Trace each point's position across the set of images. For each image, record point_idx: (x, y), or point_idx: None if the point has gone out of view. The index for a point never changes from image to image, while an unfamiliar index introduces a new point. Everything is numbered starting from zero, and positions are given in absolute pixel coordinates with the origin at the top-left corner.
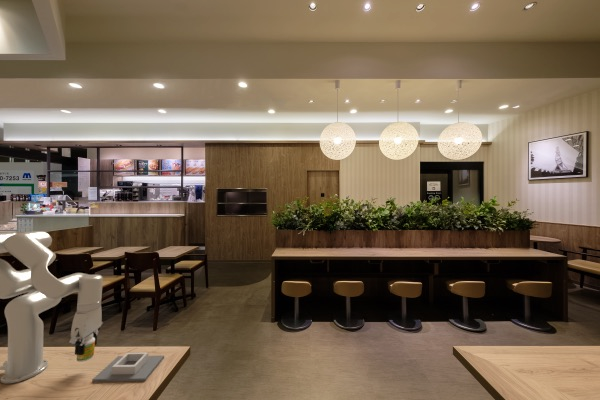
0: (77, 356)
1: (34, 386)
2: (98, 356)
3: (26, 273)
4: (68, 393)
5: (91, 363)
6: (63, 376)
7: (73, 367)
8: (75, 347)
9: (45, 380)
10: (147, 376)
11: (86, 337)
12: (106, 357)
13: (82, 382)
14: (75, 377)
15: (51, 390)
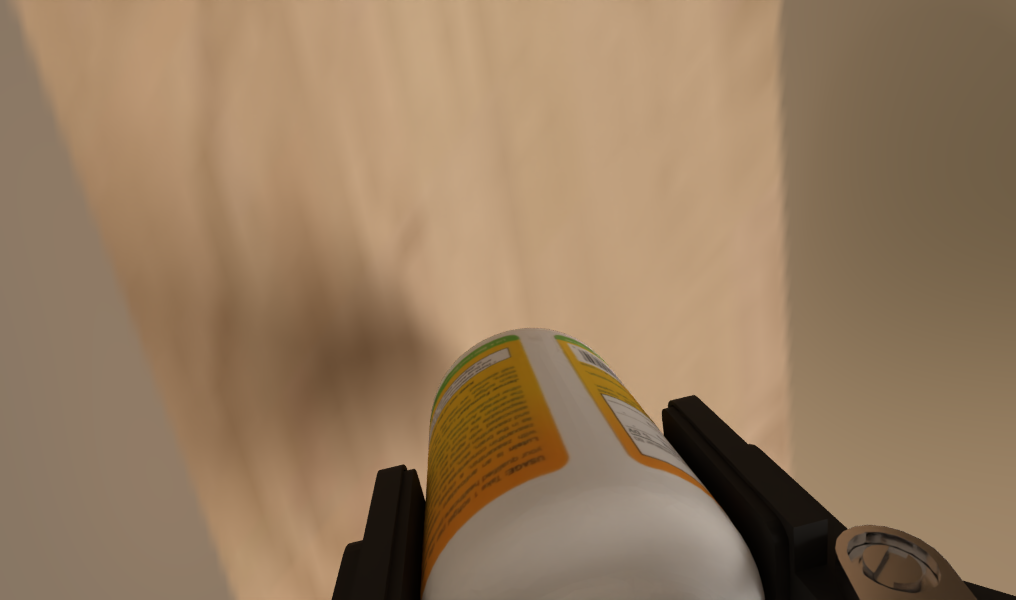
0: (431, 432)
1: (175, 87)
2: (717, 272)
3: None
4: (222, 526)
5: (603, 315)
6: (379, 237)
7: (518, 187)
8: (357, 580)
9: (280, 102)
10: None
11: None
12: (707, 372)
13: (359, 504)
14: (396, 375)
15: (197, 341)
